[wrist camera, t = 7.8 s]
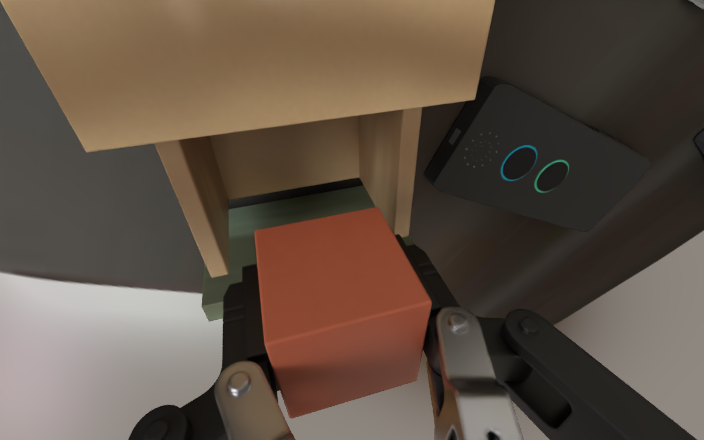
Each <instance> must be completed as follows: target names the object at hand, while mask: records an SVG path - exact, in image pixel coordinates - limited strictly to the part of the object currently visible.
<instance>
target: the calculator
mask: <svg viewBox="0 0 704 440" xmlns="http://www.w3.org/2000/svg"><path fill="white" fill-rule="evenodd" d="M695 143H696V144H697V146H698V147H699V149H700V150H701V152H702V153H703V155H704V130H703V131H702V132H701V133H700V134H698V135H697V136H696V138H695Z"/></svg>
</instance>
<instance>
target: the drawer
mask: <svg viewBox="0 0 704 440" xmlns="http://www.w3.org/2000/svg"><path fill="white" fill-rule="evenodd" d="M421 114H422V107H418V108H411V109H403V110H396V111H388V112H381V113H374V114H366V115H359V116H352V117H344V118H337V119H330V120H322V121H315V122H307V123H300V124H293V125H285V126H278V127H271V128H263V129H256V130H248V131H241V132H234V133H226V134H219V135H212V136H204V137H197V138H189V139H182V140H175V141H167V142H160V143H154V144H155V147H156V149H157V151H158V154H159V156H160V158H161V161H162V163H163V165H164V168H165V170H166V173H167V175H168V177H169V180H170V182H171V184H172V187H173V189H174V191H175V194H176V196H177V198H178V201H179V203H180V205H181V208H182V210H183V213H184V215H185V217H186V220H187V222H188V224H189V227H190V229H191V231H192V234H193V236H194V238H195V241H196V243H197V246H198V248H199V250H200V253H201V255H202V257H203V260H204V262H205V268H204V282H203V297H202V308H203V310H204V312H205V314H206V316H207V318H208V320H209V321H213V320H217V319H222V318H223V313H224V312H223V297H224V295H225V293H226V291H227V289H228V287H229V285H230V284H234V283H238V282H243V281H242V267H243V266H247V265H252V264H257V257H256V245H255V234H254V233H255V231H256V230H260V229H265V228H270V227H276V226H281V225H286V224H291V223H296V222H302V221H307V220H312V219H317V218H322V217H328V216H333V215H338V214H343V213H349V212H354V211H359V210H364V209H369V208H375V207H378V208H379V209H380V211H381V212H382V214H383V216H384V218H385V220H386V221H387V223H388V225H389V227H390V228H391V230H392V232H393V234H394V235H396V234H399V235H400V236H401V237H402V239H403V241H404V242H405V244H406V246H409V245H413V244H414V242H413V241H412V239H411V238H410V236H409V225H410V216H411V207H412V197H413V188H414V179H415V169H416V160H417V151H418V142H419V132H420V123H421ZM358 177H359V178H360V179H361V181H362V183H363V186H358V187H352V188H346V189H341V190H335V191H329V192H324V193H318V194H313V195H307V196H301V197H296V198H290V199H284V200H279V201H273V202H268V203H262V204H256V205H251V206H245V207H239V208H234V209H229V200H231V199H237V198H242V197H248V196H254V195H260V194H266V193H271V192H277V191H283V190H289V189H295V188H300V187H306V186H312V185H318V184H324V183H329V182H335V181H341V180H347V179H353V178H358Z"/></svg>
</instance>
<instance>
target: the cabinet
mask: <svg viewBox="0 0 704 440" xmlns="http://www.w3.org/2000/svg"><path fill="white" fill-rule="evenodd" d="M0 2H1V3H2V5H3V7H4V9H5V10H6V12H7V14H8V16H9V17H10V19H11V21H12V23H13V24H14V26H15V28H16V30H17V31H18V33H19V35H20V37H21V38H22V40H23V42H24V44H25V45H26V47H27V49H28V51H29V52H30V54H31V56H32V58H33V59H34V61H35V63H36V65H37V66H38V68H39V70H40V72H41V73H42V75H43V77H44V79H45V80H46V82H47V84H48V86H49V87H50V89H51V91H52V93H53V94H54V96H55V98H56V100H57V101H58V103H59V105H60V107H61V108H62V110H63V112H64V114H65V115H66V117H67V119H68V121H69V122H70V124H71V126H72V128H73V129H74V131H75V133H76V135H77V136H78V138H79V140H80V142H81V143H82V145H83V147H84V149H85V151H86V152H94V151H101V150H108V149H116V148H123V147H131V146H138V145H145V144H153V143H160V142H167V141H175V140H182V139H189V138H197V137H204V136H212V135H219V134H226V133H234V132H241V131H248V130H256V129H263V128H271V127H278V126H285V125H293V124H300V123H307V122H315V121H322V120H330V119H337V118H344V117H352V116H359V115H366V114H374V113H381V112H388V111H396V110H403V109H411V108H418V107H425V106H433V105H440V104H447V103H455V102H462V101H470V100H475V97H476V92H477V87H478V82H479V77H480V72H481V67H482V63H483V58H484V53H485V48H486V43H487V38H488V33H489V28H490V23H491V18H492V13H493V9H494V4H495V0H0Z"/></svg>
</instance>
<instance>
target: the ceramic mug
mask: <svg viewBox="0 0 704 440" xmlns="http://www.w3.org/2000/svg"><path fill="white" fill-rule="evenodd" d="M689 1H691V2H693V3H694V4H695V5H697V6H698V7H700V8H702V9H704V0H689Z"/></svg>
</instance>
